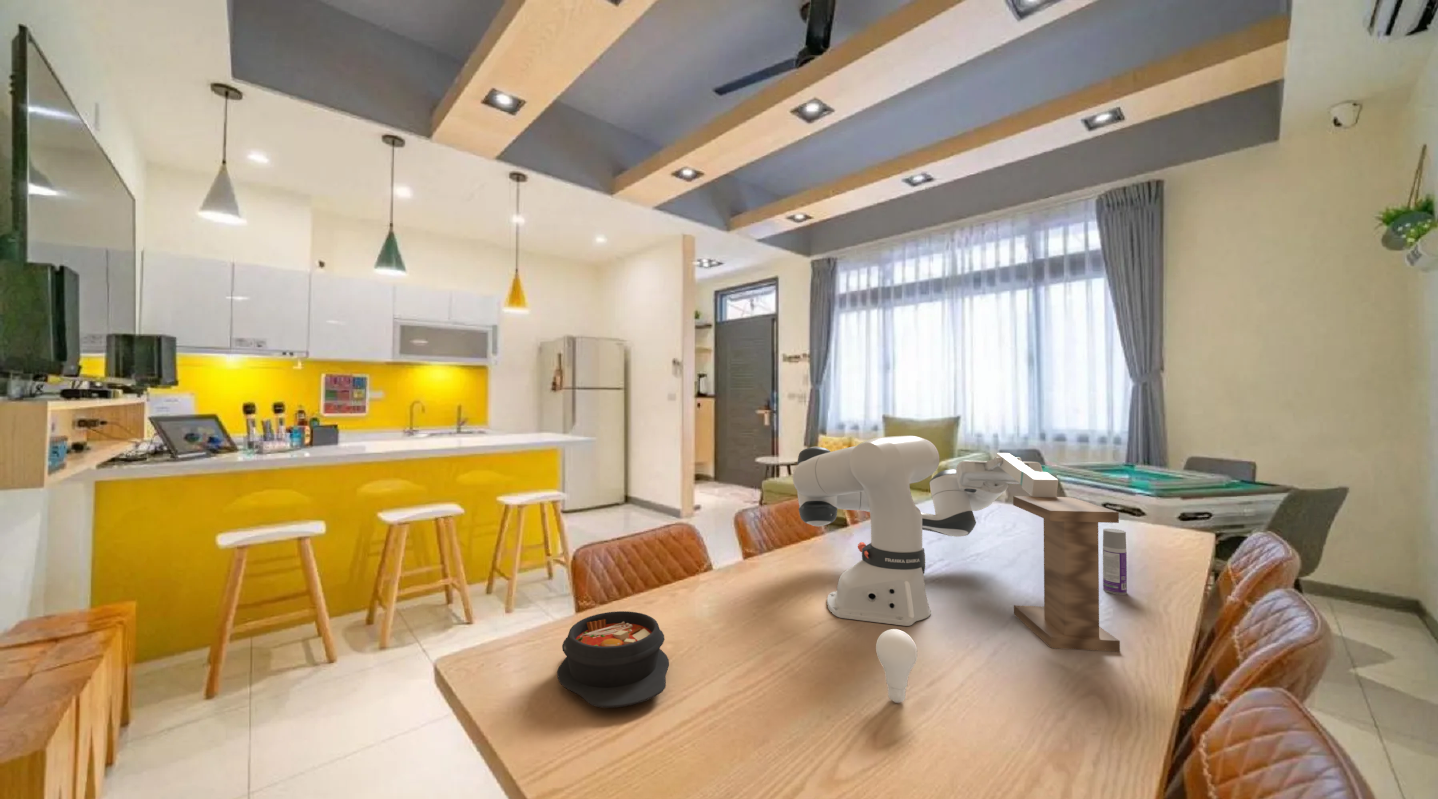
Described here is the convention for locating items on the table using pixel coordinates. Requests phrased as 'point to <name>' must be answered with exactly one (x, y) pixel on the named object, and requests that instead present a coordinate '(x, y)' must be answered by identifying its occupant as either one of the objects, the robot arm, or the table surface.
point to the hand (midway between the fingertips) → (1009, 459)
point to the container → (1114, 561)
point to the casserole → (614, 659)
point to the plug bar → (1029, 477)
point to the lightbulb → (896, 660)
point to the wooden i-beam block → (1069, 574)
